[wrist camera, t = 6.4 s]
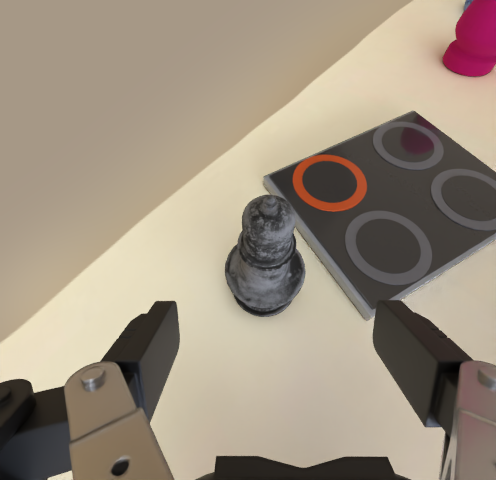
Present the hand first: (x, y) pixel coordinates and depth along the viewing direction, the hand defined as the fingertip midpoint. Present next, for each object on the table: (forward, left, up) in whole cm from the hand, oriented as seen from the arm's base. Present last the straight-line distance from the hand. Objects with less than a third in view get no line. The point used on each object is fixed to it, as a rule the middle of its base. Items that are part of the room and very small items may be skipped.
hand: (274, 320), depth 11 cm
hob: (-18, -6, -11) cm, 22 cm away
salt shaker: (-3, -5, -11) cm, 13 cm away
